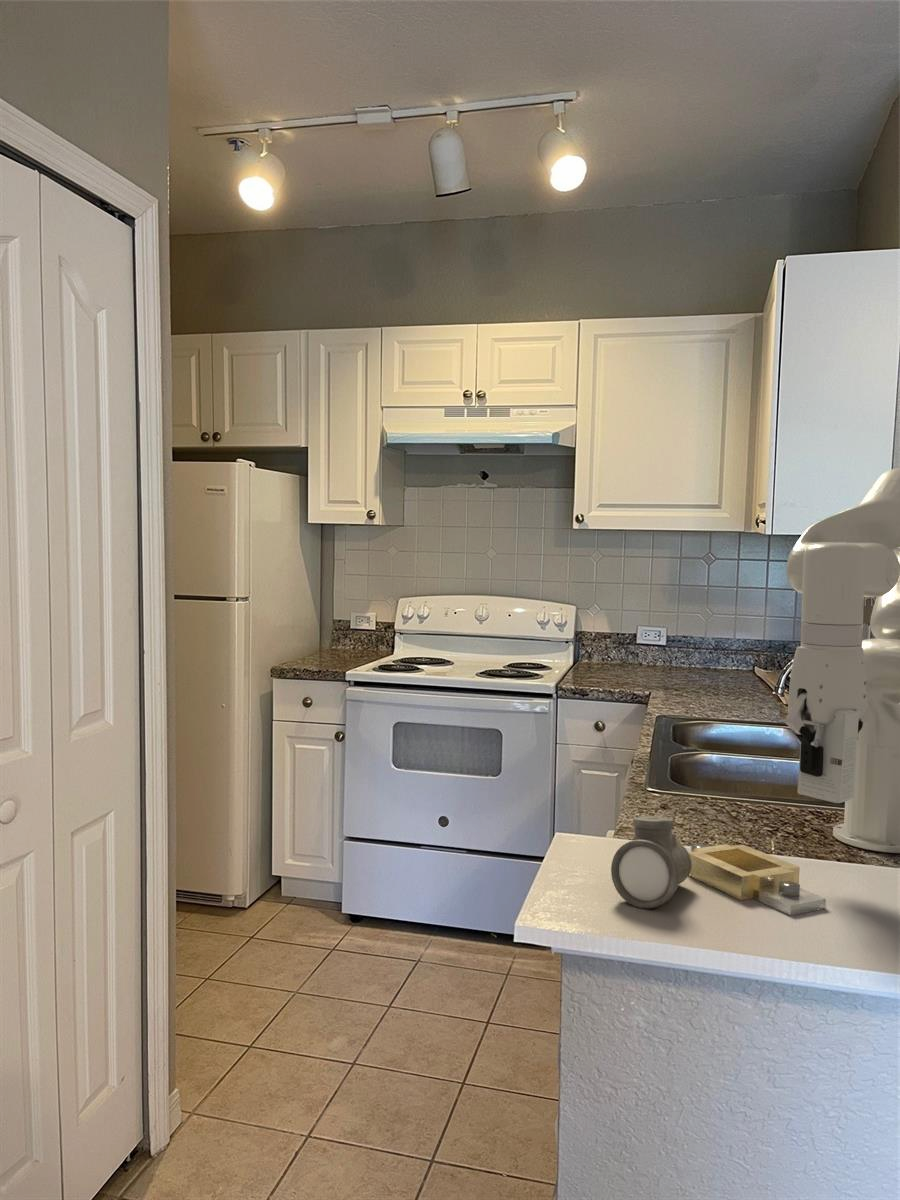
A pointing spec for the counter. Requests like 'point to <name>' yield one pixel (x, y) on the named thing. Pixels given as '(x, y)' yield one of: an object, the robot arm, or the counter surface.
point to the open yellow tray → (753, 877)
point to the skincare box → (834, 760)
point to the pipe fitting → (650, 863)
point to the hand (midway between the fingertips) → (826, 770)
